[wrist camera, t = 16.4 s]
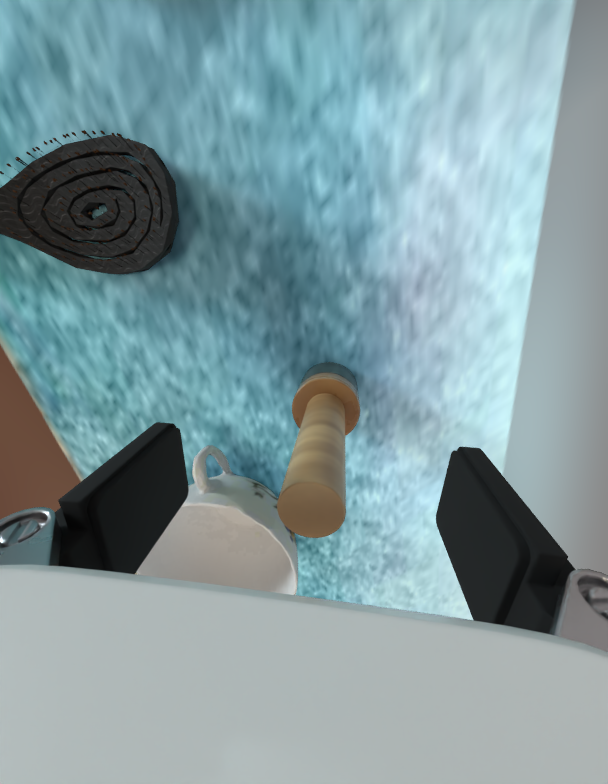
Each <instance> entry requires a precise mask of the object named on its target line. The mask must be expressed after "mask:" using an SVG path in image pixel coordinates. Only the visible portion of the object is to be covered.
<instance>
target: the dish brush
mask: <svg viewBox="0 0 608 784" xmlns="http://www.w3.org/2000/svg"><path fill="white" fill-rule="evenodd" d="M292 413H293V418H294V420H295V422H296V424H297V426H298V427H299V428H300V430H299V433H298V437H297V440H296V443H295V446H294V450H293V453H292V456H291V459H290V462H289V466H288V469H287V472H286V475H285V479H284V482H283V485H282V488H281V492H280V495H279V498H278V501H277V511H278V515H279V517H280V519H281V521H282V522H283V524H284V525H285V526H286V527H287V528H288V529H290V530H291V531H292V532H294V533H296V534H298V535H301V536H304V537H310V538H319V537H325V536H328V535H330V534H332V533H334V532H335V531H337V530H338V529H339V528H340V526H341V525H342V523H343V522H344V519H345V515H346V484H345V436H346V435H347V434H349V433H350V432H351V431H352V430H353V429H354V427H355V426H356V424H357V422H358V420H359V416H360V404H359V397H358V389H357V383H356V380H355V378H354V376H353V374H352V373H351V372H350V371H349V370H348V369H347V368H346V367H344V366H342V365H340V364H337V363H333V362H324V363H320V364H317V365H315V366H313V367H312V368H310V369H309V370H308V371H307V372H306V374H305V375H304V377H303V379H302V381H301V384H300V386H299V388H298V390H297V393H296V395H295V397H294V400H293V404H292Z"/></svg>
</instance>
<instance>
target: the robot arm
mask: <svg viewBox="0 0 608 784" xmlns="http://www.w3.org/2000/svg"><path fill="white" fill-rule="evenodd" d="M188 492H189V488H188V481H187V474H186V467H185V460H184V454H183V447H182V440H181V433H180V430H179V429H178V428H176V426H175V425H174V424H171V423H159V422H158V423H155V424H153V425H152V426H151V427H150V428H148V429H147V430H146V431H145V432H143V433H142V434H141V435H140V436H138V437H137V438H136V439H135V440H133V441H132V442H131V443H130V444H128V445H127V446H126V447H125V448H123V449H122V450H121V451H119V452H118V453H117V454H116V455H114V456H113V457H112V458H111V459H109V460H108V461H107V462H106V463H104V464H103V465H102V466H101V467H99V468H98V469H97V470H96V471H94V472H93V473H92V474H91V475H89V476H88V477H87V478H86V479H84V480H83V481H82V482H81V483H79V484H78V485H77V486H75V487H74V488H73V489H72V490H70V491H69V492H68V493H67V494H65V495H64V496H63V497H62V498H60V499H59V504H60V506H61V508H60V509H59V510H57V511H56V512H54V511H53V510H51V509H50V508H45V507H39V508H38V507H37V508H30V509H26V510H22V511H19V512H17V513H14V514H11V515H9V516H7V517H5V518H3V519H1V520H0V784H608V575H606V574H603V573H601V572H597V571H593V570H590V569H577V570H575V568H574V567H573V566H572V565H571V563H570V562H569V561H568V560H567V558H568V556H567V555H566V553H565V552H564V551H563V550H562V549H561V547H560V546H559V545H558V544H557V542H556V541H555V540H554V539H553V537H552V536H551V535H550V534H549V532H548V531H547V530H546V529H545V528H544V526H543V525H542V524H541V523H540V522H539V520H538V519H537V518H536V516H535V515H534V514H533V513H532V512H531V510H530V509H529V508H528V507H527V505H526V504H525V503H524V502H523V501H522V499H521V498H520V497H519V496H518V494H517V493H516V492H515V491H514V489H513V488H512V487H511V486H510V484H509V483H508V482H507V481H506V480H505V478H504V477H503V476H502V475H501V473H500V472H499V471H498V470H497V468H496V467H495V466H494V465H493V463H492V462H491V461H490V460H489V459H488V457H487V456H486V455H485V454H484V452H483V451H482V450H481V449H480V448H470V447H459V448H458V450H457V451H453V452H452V454H451V457H450V461H449V465H448V469H447V473H446V477H445V481H444V485H443V489H442V493H441V498H440V502H439V506H438V510H437V514H436V523H437V527H438V529H439V532H440V535H441V537H442V540H443V542H444V545H445V547H446V550H447V553H448V555H449V558H450V560H451V563H452V566H453V568H454V571H455V573H456V576H457V578H458V581H459V584H460V586H461V589H462V591H463V594H464V596H465V599H466V602H467V604H468V607H469V609H470V612H471V615H472V617H473V620H474V621H473V620H467V619H460V618H454V617H448V616H441V615H435V614H428V613H420V612H413V611H406V610H399V609H392V608H385V607H377V606H370V605H363V604H356V603H349V602H342V601H334V600H327V599H320V598H312V597H305V596H297V595H290V594H282V593H275V592H268V591H260V590H252V589H245V588H237V587H230V586H222V585H215V584H207V583H199V582H191V581H183V580H175V579H168V578H160V577H152V576H144V575H136V574H135V573H136V571H137V570H138V569H139V567H140V566H141V564H142V563H143V561H144V560H145V558H146V557H147V556H148V554H149V553H150V551H151V550H152V548H153V547H154V545H155V544H156V542H157V541H158V540H159V538H160V537H161V535H162V534H163V532H164V531H165V529H166V528H167V527H168V525H169V524H170V522H171V521H172V519H173V518H174V516H175V515H176V513H177V512H178V511H179V509H180V508H181V506H182V505H183V503H184V502H185V500H186V499H187V496H188Z"/></svg>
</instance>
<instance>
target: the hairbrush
mask: <svg viewBox="0 0 608 784" xmlns="http://www.w3.org/2000/svg"><path fill="white" fill-rule="evenodd" d="M81 132H82V133H84V134H87V132H86V131H85V130H84V131H81ZM92 132H93V134H94V135H95V134H96V133H95V132H94V131H92ZM101 132H102V134H104V135H105V133H104V132H103V131H101ZM72 134H73V135H75V136H76V134H75V133H74V132H72ZM87 135H88V134H87ZM117 135H118V136H119V137H118V136H115V135H114V133H112V135H107V136H103V137H98V138H93V139H92V138H91V137H90V136H89V135H88V136H89V137H90V138H91V139H88V140H84V141H79V142H74V143H69V144H65V145H62V144H61V143H60V144H61V145H62V146H61V147H59V148H57V149H56V150H54V151H52V152H50V153H48V154H46V155H44V156H42V155H41V154H40V155H41V156H42V157H41V158H39V159H36V158H35V159H36V160H35V161H33V162H32V163H30V164H29V165H28V166H26V165H27V164H26V163H25V164H26V165H25V164H23V163H24V162H23V161H22V160H21V159H20V158H19V157H16V158H17V159H16V158H15V159H16V160H17V161H19V160H20V161H22V162H23V163H22V162H20V161H19V162H20V163H22V164H23V165H25V166H26V168H24V169H23V170H22V171H21V172H20V173H19V174H17V175H16V176H15V177H14V178H13V179H11V180H10V181H9V182H8V183H7V184H5V185H4V186H3V187H1V188H0V234H3V235H5V236H8V237H11V238H13V239H16V240H18V241H21V242H23V243H26V244H28V245H30V246H32V247H34V248H36V249H38V250H40V251H42V252H44V253H46V254H48V255H51V256H53V257H55V258H57V259H59V260H61V261H63V262H65V263H67V264H69V265H71V266H74V267H76V268H80V269H86V270H91V271H97V272H102V273H110V274H129V273H133V272H140V271H145V270H148V269H149V268H151V267H152V266H153V265H154V264H156V263H157V262H158V261H160V260H161V259H162V258H163V257H165V256H166V255H167V254H168V253H170V251H171V248H172V244H173V240H174V237H175V233H176V229H177V226H178V222H179V218H178V207H177V197H176V186H175V182H174V180H173V178H172V177H171V175H170V173H169V171H168V170H167V168H166V166H165V165H164V163H163V161H162V160H161V159H160V157H159V156H158V155H157V153H156V152H155V151H154V149H152V148H150V147H148V146H146V145H145V144H142V143H139V142H136V141H133V140H130V139H125V138H123V137H122V135H120V134H118V133H117ZM66 136H69V135H68V134H66ZM66 136H65V135H63V137H65V138H66ZM69 137H70V136H69ZM53 139H54V140H55V141H57V140H56V138H53ZM49 141H50V142H51V143H53V142H52V140H49ZM73 141H74V140H73ZM57 142H58V141H57ZM70 142H71V141H70ZM44 143H45V144H46V145H47V143H46V142H45V141H44ZM58 143H59V142H58ZM35 148H37V149H38V150H40V149H39V148H38V147H35ZM33 150H34V152H35V151H36V150H35V149H34V148H33ZM40 151H41V150H40ZM36 152H37V151H36ZM27 154H29V155H31V154H30V153H28V152H27ZM44 154H45V153H44ZM121 155H130V156H132V157H135V158H136V159H138V160H139V161H140V162H142V163H143V164H144V165H145V166H144V165H142V164H141V163H138V162H136V161H133V160H131V159H129V158H126V157H124V156H121ZM31 156H32V155H31ZM32 157H33V156H32ZM7 165H8V166H10V167H12V166H11V165H10V164H7ZM146 166H147V167H146ZM15 170H16V169H15ZM121 170H122V171H126V172H128V173H131V174H134V175H135V176H136V177H137V178H139V179H137V178H136V177H133V176H130V175H126V174H124V173H121V172H118V171H121ZM18 172H19V171H18ZM0 173H1V174H4V173H2V172H1V171H0ZM7 177H8V176H7ZM1 186H2V185H1ZM109 189H125V190H126V191H127V192H128V193H129V194H128V193H126V192H123V191H120V190H109ZM101 204H106V207H107V210H108V211H107V212H105V213H104V212H103V214H102V215H100V216H99V217H97V216H96V217H97V218H96V217H95V218H96V219H92V218H91V215H92V214H93V213H92V212H91V210H92V209H94V208H97V209H99V208H98V207H97V206H99V205H101ZM93 215H94V214H93ZM85 226H87V227H91V228H96V229H97V230H92V229H91V228H89V229H91V230H89V229H86V228H85ZM100 228H101V229H100ZM70 237H71V238H73V239H75V240H72V239H71V238H70ZM77 240H83V241H93V242H99V243H101V242H109V243H107V244H102V243H101V244H92V243H87V242H82V241H77ZM110 241H112V242H110ZM64 248H65V249H68V250H65V249H64ZM69 250H71V251H69ZM72 251H74V252H72ZM75 252H77V253H75ZM78 253H80V254H78ZM81 254H83V255H81ZM85 255H90V256H98V257H117V258H115V259H108V260H101V259H94V258H91V257H88V256H85ZM120 256H121V257H120Z"/></svg>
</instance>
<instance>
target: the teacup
mask: <svg viewBox="0 0 608 784" xmlns="http://www.w3.org/2000/svg"><path fill="white" fill-rule="evenodd" d="M209 454H210V455H212V456H214V458H215V459H216V460H217V462H218V464H219V465H220V466H221V467H222V470H223V473H222V474H221V475H219V476H215V477H211V478H208V477H207V473H206V458H207V456H208V455H209ZM192 473H193V478H194V481H195V483H194V484H192V485H190V486H188V488H189V492H188V496H187V499H186V500H185V502H184V503H183V505H182V506H181V508H180V509H179V511H178V512H177V513H176V515H175V516H174V518H173V519H172V521H171V522H170V524H169V525H168V527H167V528H166V529H165V531H164V532H163V534H162V535H161V537H160V538H159V540H158V541H157V542H156V544H155V545H154V547H153V548H152V550H151V551H150V553H149V554H148V556H147V557H146V558H145V560H144V561H143V563H142V564H141V566H140V567H139V569H138V570H137V573H138V575H144V576H152V577H160V578H168V579H175V580H183V581H191V582H199V583H207V584H215V585H222V586H230V587H237V588H245V589H252V590H260V591H268V592H275V593H282V594H290V595H295V594H296V591H297V583H298V556H297V545H296V539H295V534H294V532H292V531H291V530H290V529H288V528H287V527H286V526H285V525H284V524H283V522H282V521H281V519H280V517H279V515H278V511H277V501H278V498H277V497H276V496H275V495H274V493H273V492H272V491H270V490H269V489H268V488H267V487H265V486H264V485H263V484H261V483H259V482H257V481H255V480H253V479H250V478H247V477H243V476H238V475H235V474H234V473H233V472H232V471H231V469H230V466H229V463H228V461H227V458H226V456H225V455H224V454H223V453H222V452H221V450H219V449H217V448H216V447H215V446H213V445H208V446H206V447H204V448H203V449H202V450H201V451H200V452H199V453H198V454H197V455H196V456H195V457H194V462H193V471H192Z"/></svg>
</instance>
